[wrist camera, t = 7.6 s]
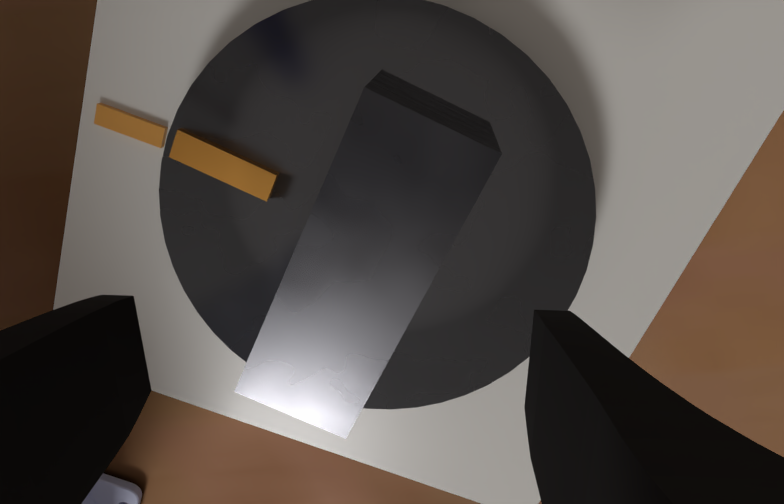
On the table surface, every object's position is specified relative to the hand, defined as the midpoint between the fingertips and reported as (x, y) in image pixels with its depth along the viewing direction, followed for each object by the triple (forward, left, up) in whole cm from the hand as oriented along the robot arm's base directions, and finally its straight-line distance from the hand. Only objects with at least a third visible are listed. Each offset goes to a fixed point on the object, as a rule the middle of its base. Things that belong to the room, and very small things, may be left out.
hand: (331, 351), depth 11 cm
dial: (0, 0, -7) cm, 7 cm away
